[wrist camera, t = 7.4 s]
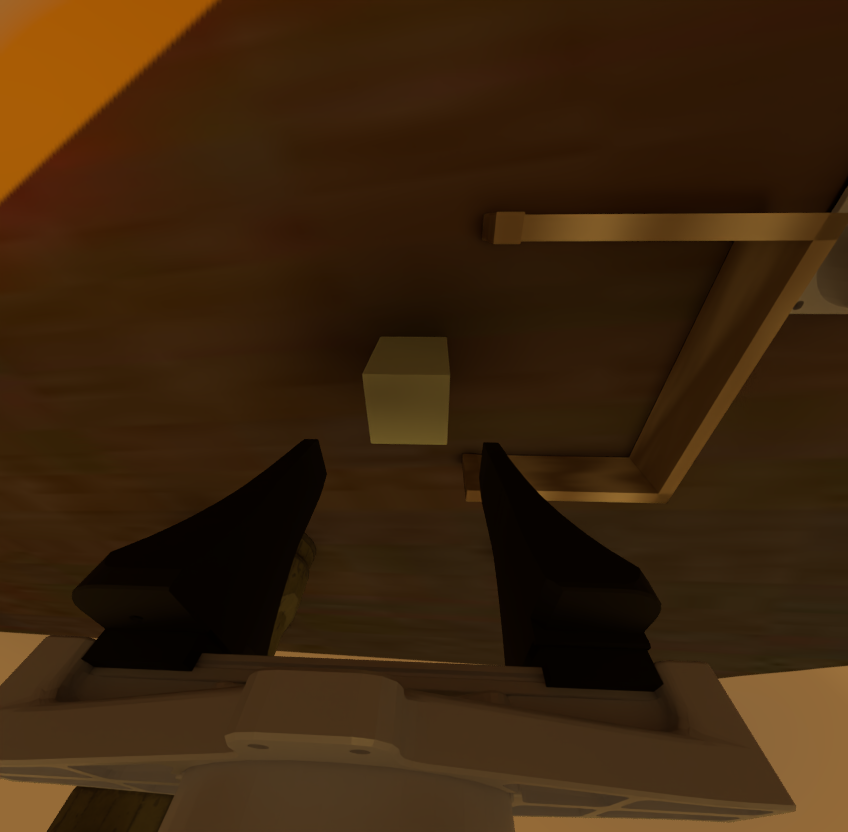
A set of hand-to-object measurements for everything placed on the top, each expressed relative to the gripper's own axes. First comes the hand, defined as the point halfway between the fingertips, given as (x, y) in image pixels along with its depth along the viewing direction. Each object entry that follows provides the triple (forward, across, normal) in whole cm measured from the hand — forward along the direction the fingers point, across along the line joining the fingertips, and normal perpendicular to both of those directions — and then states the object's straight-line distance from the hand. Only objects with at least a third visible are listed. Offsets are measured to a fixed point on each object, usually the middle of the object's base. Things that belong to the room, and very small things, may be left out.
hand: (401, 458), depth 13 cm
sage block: (+10, 0, 0) cm, 10 cm away
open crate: (+10, -11, 0) cm, 15 cm away
